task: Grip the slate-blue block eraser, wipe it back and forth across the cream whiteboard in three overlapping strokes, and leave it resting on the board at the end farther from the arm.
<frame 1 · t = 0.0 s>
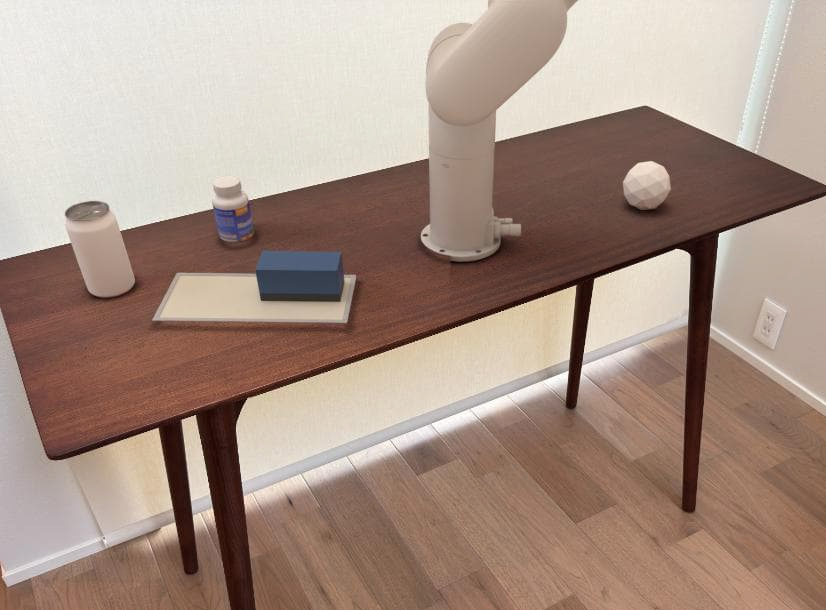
pill bottle: (238, 240, 123), on the table
whiteboard: (259, 304, 109), on the table
can: (112, 287, 113), on the table
eraser: (303, 291, 110), point 1 cm above the table, touching whiteboard
geometric ball: (642, 207, 133), on the table
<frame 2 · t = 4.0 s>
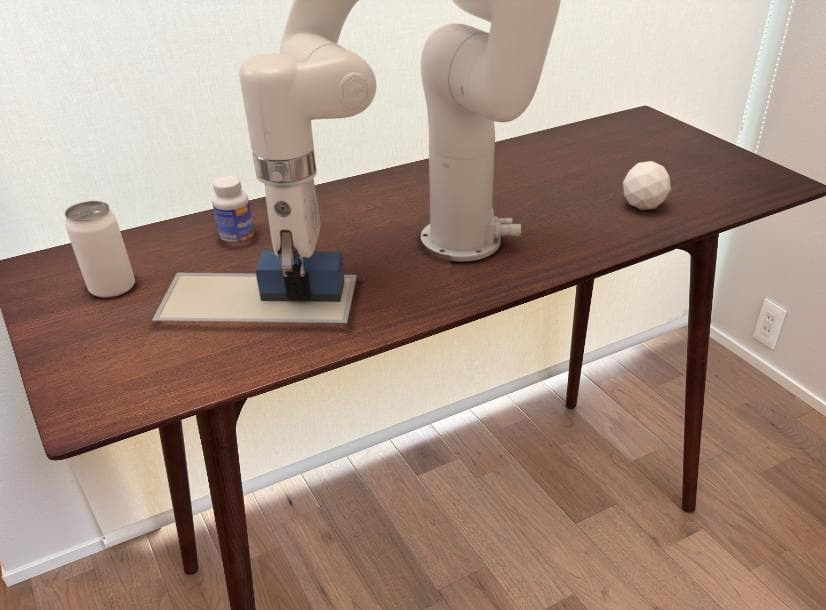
hand: (302, 285, 109), 2 cm above the table, tool pointing down, fingers closed on eraser, 5 cm apart
eraser: (303, 291, 110), point 1 cm above the table, touching gripper, whiteboard
everything else where it was.
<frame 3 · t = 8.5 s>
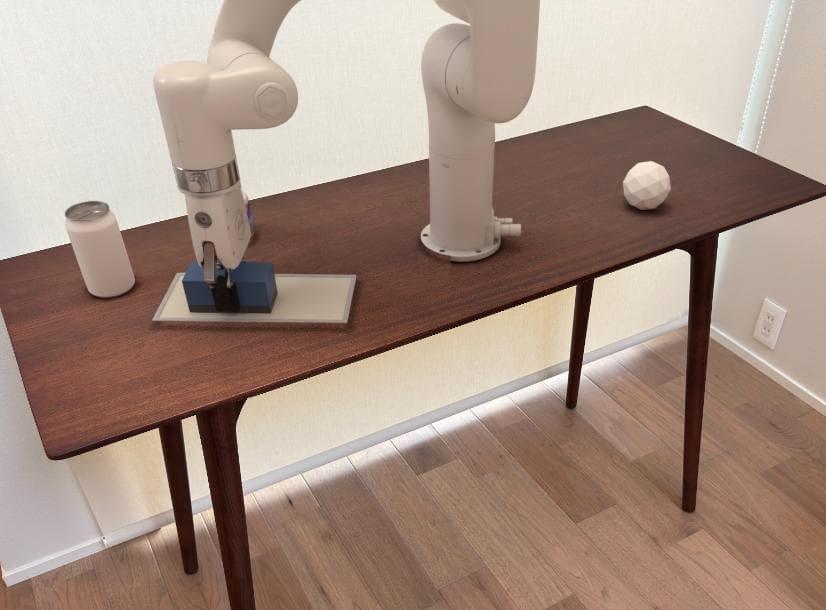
hand: (233, 297, 107), 2 cm above the table, tool pointing down, fingers closed on eraser, 5 cm apart
eraser: (234, 302, 108), point 1 cm above the table, touching gripper
everything else where it was.
when the fingers open (2 cm above the table, at t = 13.1 s): eraser stays where it is, resting on whiteboard.
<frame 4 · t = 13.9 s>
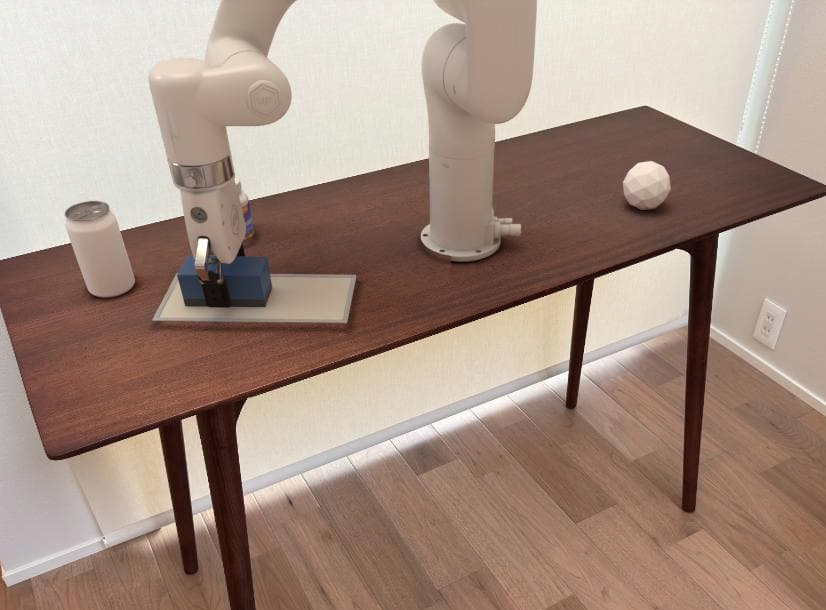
hand: (227, 286, 108), 3 cm above the table, tool pointing down, fingers open, 9 cm apart
eraser: (229, 296, 109), point 1 cm above the table, touching whiteboard
everything else where it was.
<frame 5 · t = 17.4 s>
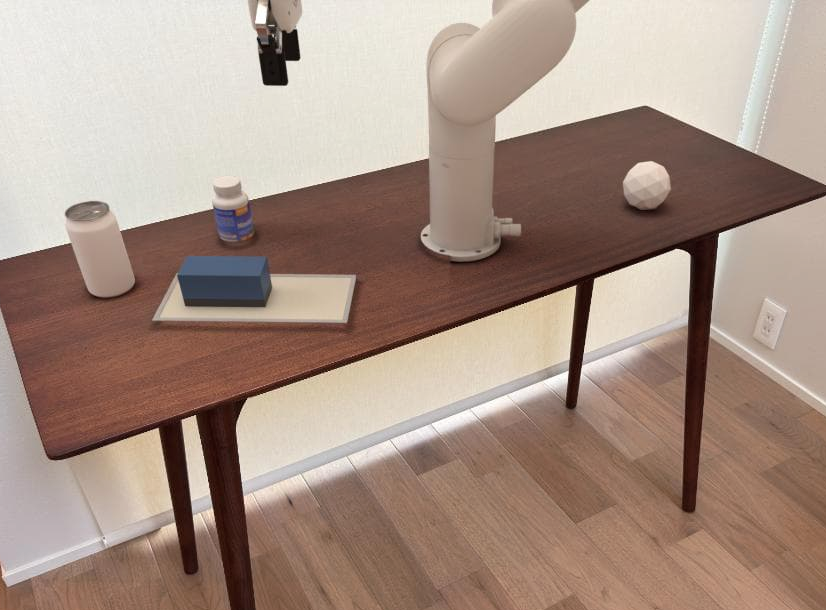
hand: (282, 72, 104), 26 cm above the table, tool pointing down, fingers open, 9 cm apart
nothing on the table moved.
at the end: eraser moved 10.1 cm from its start; eraser inside the target area on the whiteboard (0.5 cm from its centre), point 1.2 cm above the whiteboard's base; the gripper is holding nothing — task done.
